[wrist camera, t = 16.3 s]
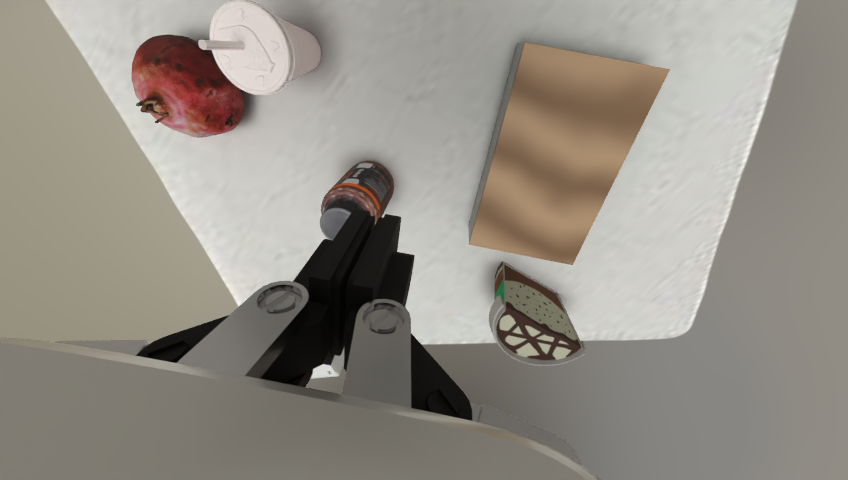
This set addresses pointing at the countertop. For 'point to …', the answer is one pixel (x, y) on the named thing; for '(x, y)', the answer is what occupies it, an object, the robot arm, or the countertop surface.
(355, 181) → the supplement bottle
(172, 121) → the fruit
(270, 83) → the smoothie
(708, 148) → the countertop surface
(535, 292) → the food container
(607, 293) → the countertop surface
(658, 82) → the lid
